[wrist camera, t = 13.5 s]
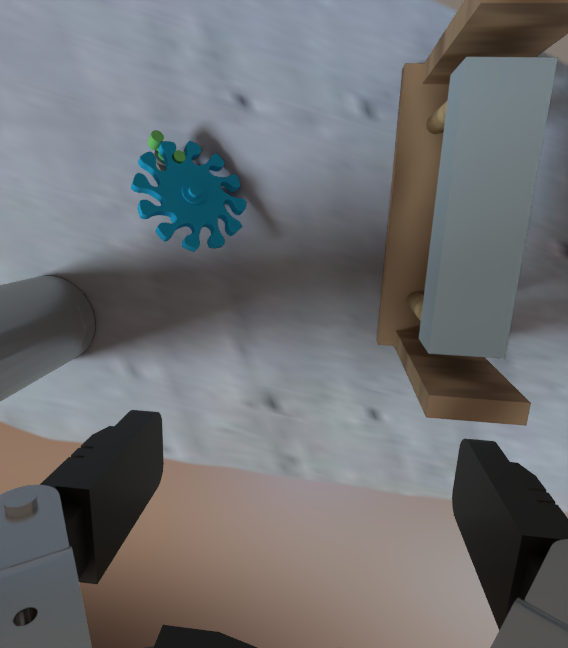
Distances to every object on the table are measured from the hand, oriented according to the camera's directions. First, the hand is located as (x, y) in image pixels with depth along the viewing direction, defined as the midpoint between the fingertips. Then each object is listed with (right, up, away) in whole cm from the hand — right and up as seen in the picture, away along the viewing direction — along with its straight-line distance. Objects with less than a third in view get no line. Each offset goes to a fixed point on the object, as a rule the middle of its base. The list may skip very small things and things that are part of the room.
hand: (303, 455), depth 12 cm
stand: (+14, +13, +28) cm, 34 cm away
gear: (-8, +16, +30) cm, 35 cm away
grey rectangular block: (+13, +11, +19) cm, 25 cm away
